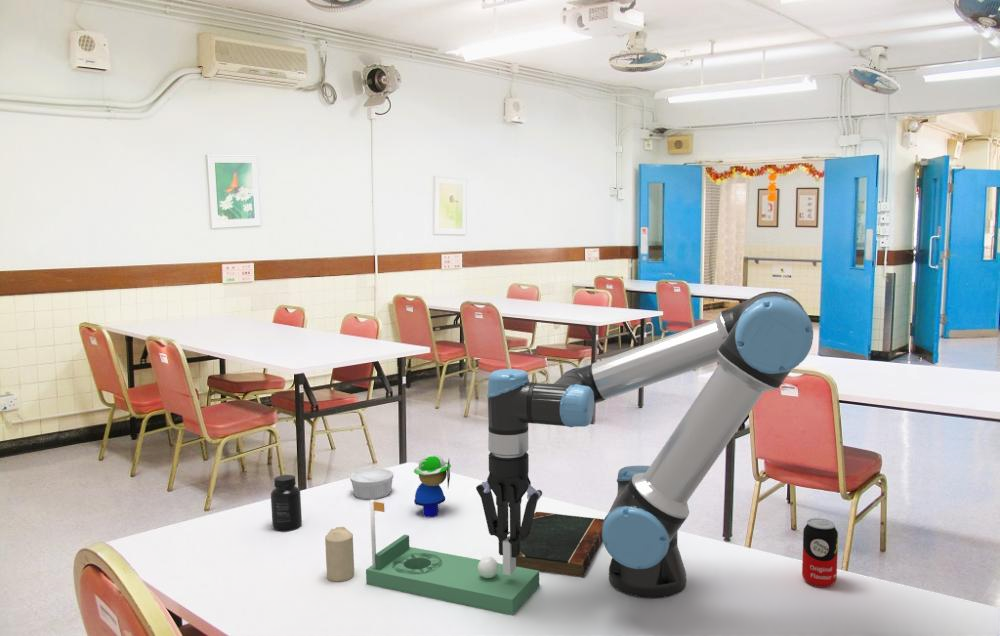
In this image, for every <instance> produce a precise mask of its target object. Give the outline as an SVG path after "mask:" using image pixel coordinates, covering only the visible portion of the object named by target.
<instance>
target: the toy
mask: <svg viewBox="0 0 1000 636" xmlns="http://www.w3.org/2000/svg"><path fill="white" fill-rule="evenodd" d="M451 467H452V466H451V464H450V459H448V461H447V462H445V460H444V458H443V457H442V456H441V455H439V454H437V453H427V454H425V455H424V456H422V457H421V458H420V460H419V463H418V466H417V467H415V468H414V470H413V473H414V474H415V475H418V479H419V480H420V482H421V483H420V484H419V485H418V486H417V488H416V491H415V494H414V500H413V501H414V504H415V505H416V506H421V507H422V510H423V511H422V512H423V516H424V517H426V518H433V517H436V516H438V512H439V505H440V504H442V503H444V502H446V496H445V494H444V491H443V488H442V487H441V484H442V483H444V481H446V478H447V481H446V482H447V488H449V485H450V481H451V480H450V479H451V470H450V469H451Z"/></svg>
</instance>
